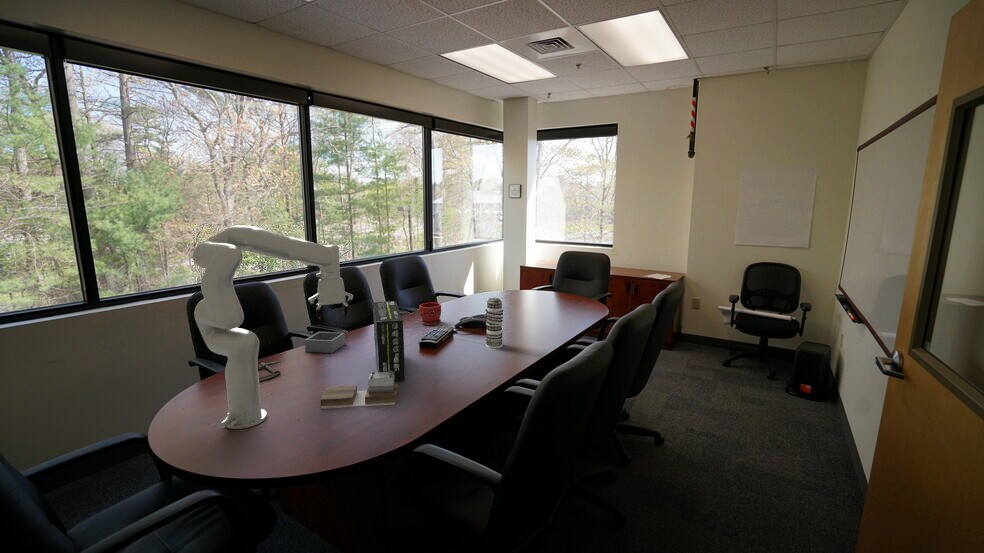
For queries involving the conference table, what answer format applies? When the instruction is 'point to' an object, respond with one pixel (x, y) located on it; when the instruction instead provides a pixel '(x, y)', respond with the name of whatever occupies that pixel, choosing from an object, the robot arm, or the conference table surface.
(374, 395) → the stand
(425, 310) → the plant pot
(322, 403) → the stand
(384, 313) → the router box
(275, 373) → the c clamp
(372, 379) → the housing
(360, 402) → the mat
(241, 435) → the conference table surface
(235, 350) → the robot arm
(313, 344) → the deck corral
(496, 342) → the model tower
